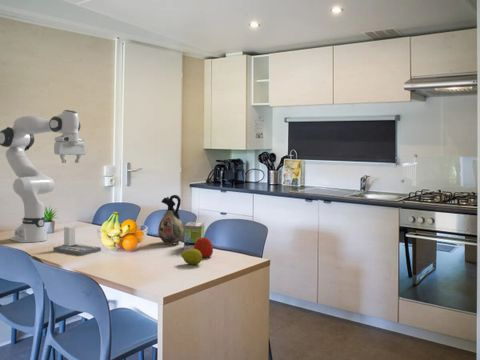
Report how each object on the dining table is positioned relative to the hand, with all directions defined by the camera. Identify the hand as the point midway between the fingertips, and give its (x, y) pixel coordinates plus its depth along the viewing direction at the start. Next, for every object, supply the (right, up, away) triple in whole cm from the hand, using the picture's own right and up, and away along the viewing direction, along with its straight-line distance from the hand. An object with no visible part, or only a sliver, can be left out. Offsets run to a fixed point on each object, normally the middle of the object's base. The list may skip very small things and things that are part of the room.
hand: (70, 162), depth 260 cm
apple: (+78, -51, -18) cm, 95 cm away
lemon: (+74, -52, -37) cm, 97 cm away
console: (+8, -49, -11) cm, 51 cm away
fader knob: (+3, -46, -9) cm, 47 cm away
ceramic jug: (+56, -49, +16) cm, 76 cm away
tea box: (+71, -50, +1) cm, 87 cm away
